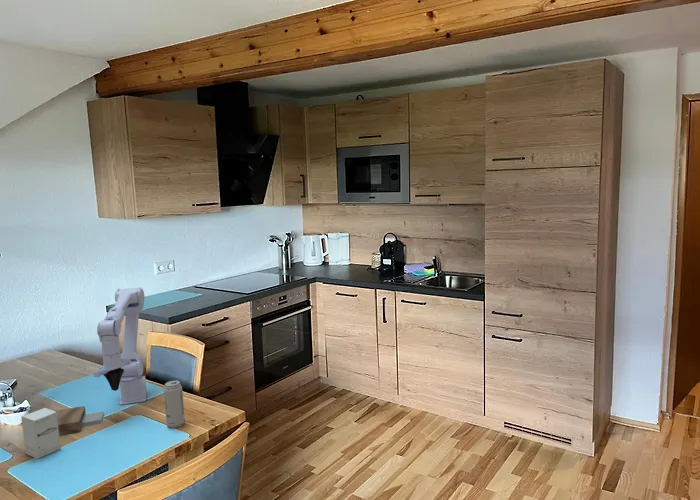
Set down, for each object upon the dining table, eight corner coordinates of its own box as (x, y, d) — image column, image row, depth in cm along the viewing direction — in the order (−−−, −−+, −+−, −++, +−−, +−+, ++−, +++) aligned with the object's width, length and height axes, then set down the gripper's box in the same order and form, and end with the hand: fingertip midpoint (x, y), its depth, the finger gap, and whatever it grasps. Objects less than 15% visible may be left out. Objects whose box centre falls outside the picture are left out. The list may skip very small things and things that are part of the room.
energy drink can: (166, 422, 179) (162, 381, 178) (184, 419, 182) (180, 378, 180) (167, 430, 174) (163, 387, 172) (185, 426, 176) (182, 384, 174)
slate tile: (104, 415, 188) (103, 411, 188) (101, 424, 181) (101, 419, 181) (67, 422, 184) (66, 417, 184) (63, 431, 177) (62, 426, 177)
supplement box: (37, 459, 158) (32, 420, 156) (25, 454, 162) (20, 415, 160) (61, 449, 164) (57, 411, 162) (49, 443, 168) (44, 406, 166)
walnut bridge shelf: (85, 415, 188) (84, 405, 188) (80, 431, 175) (78, 421, 175) (61, 419, 185) (60, 409, 185) (53, 436, 173) (52, 426, 172)
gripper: (120, 346, 191) (123, 381, 192) (85, 358, 178) (89, 395, 179) (133, 347, 188) (137, 383, 190) (100, 360, 175) (104, 398, 176)
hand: (115, 389), depth 184 cm, fingers closed
